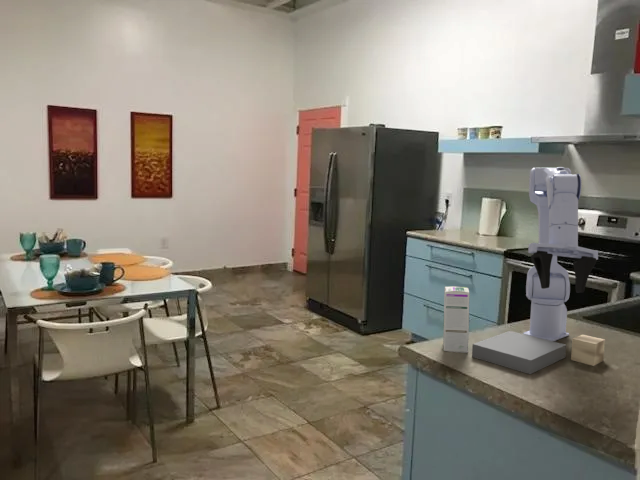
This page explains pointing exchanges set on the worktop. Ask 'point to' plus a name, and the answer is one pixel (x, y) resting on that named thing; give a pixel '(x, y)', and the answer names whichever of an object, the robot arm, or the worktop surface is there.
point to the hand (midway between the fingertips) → (562, 290)
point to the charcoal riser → (519, 351)
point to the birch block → (588, 349)
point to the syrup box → (456, 319)
